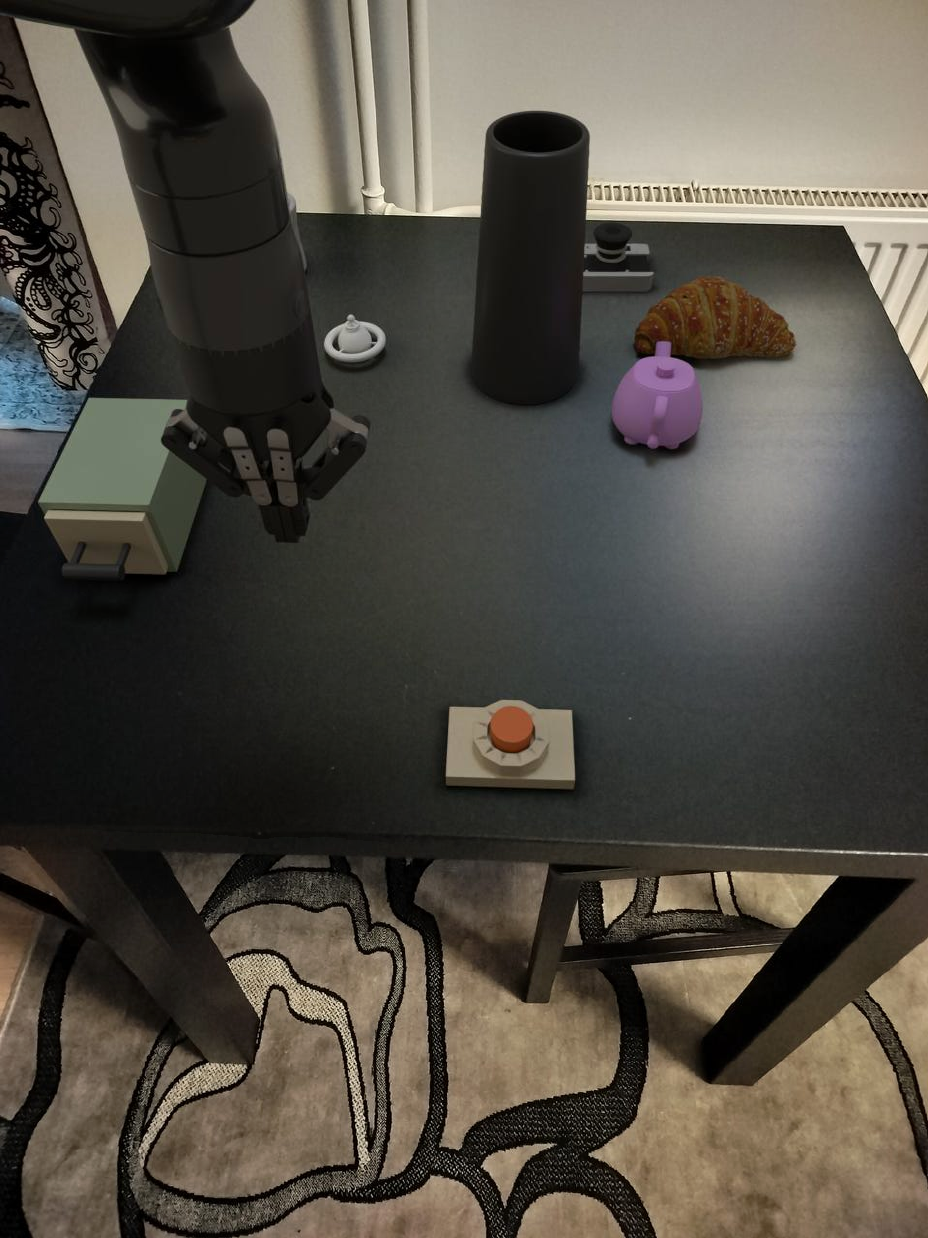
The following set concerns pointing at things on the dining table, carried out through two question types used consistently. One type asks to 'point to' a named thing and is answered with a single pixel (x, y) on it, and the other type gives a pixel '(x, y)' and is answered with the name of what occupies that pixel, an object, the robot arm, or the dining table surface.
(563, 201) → the vase
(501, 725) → the button
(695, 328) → the pastry
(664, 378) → the teapot
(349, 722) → the dining table surface
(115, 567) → the fryer drawer
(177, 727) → the dining table surface
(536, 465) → the dining table surface
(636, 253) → the camera
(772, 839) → the dining table surface
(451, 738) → the panel
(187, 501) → the fryer
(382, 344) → the ring around a ball
